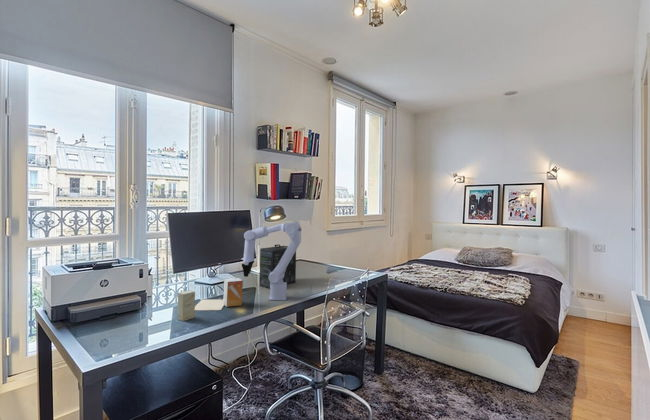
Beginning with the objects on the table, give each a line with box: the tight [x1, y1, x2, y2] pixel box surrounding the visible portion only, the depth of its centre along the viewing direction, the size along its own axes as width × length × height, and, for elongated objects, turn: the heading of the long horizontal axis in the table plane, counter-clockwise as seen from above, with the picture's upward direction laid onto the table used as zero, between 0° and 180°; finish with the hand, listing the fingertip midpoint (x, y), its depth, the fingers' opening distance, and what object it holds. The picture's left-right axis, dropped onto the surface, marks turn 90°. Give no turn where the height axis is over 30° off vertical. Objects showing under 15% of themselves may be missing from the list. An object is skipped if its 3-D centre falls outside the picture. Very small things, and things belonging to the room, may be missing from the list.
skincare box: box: [177, 290, 196, 322], centre depth 151 cm, size 6×4×12 cm
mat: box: [195, 298, 225, 312], centre depth 170 cm, size 14×17×1 cm
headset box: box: [259, 244, 297, 289], centre depth 213 cm, size 22×12×26 cm, turn 144°
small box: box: [222, 277, 244, 308], centre depth 171 cm, size 8×6×13 cm
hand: (247, 274), depth 187 cm, fingers open, 7 cm apart
